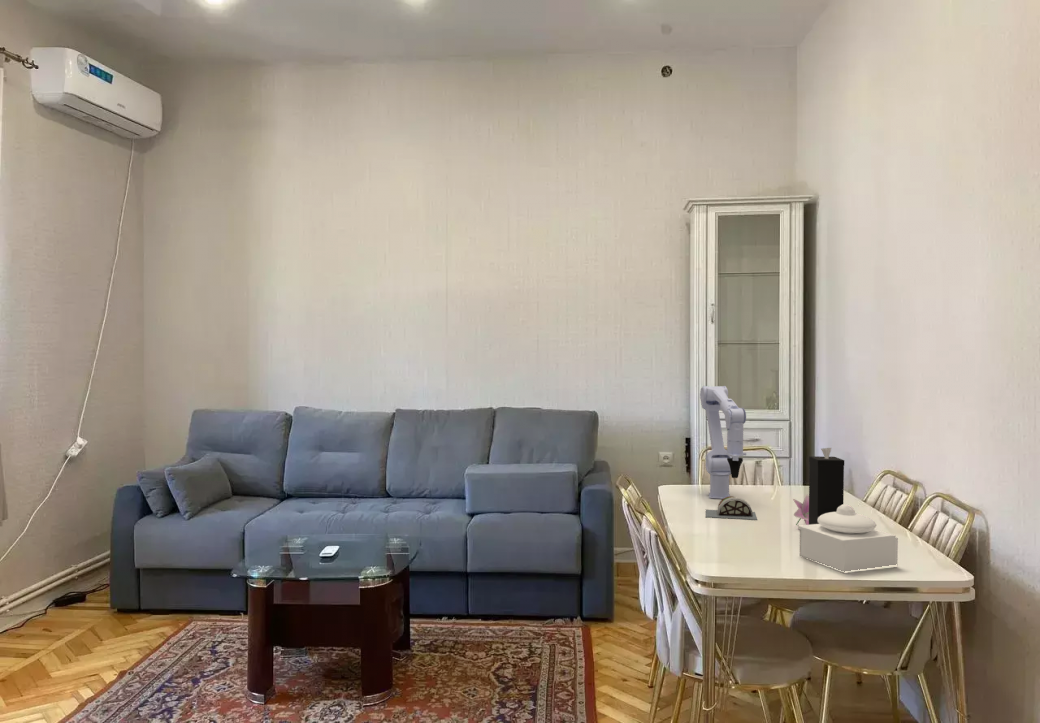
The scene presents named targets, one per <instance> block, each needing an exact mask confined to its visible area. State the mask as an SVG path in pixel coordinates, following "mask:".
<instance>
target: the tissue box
mask: <svg viewBox="0 0 1040 723" xmlns="http://www.w3.org/2000/svg"><path fill="white" fill-rule="evenodd" d="M820 450H821V453H822V455H823V456H814V455H813V456H809V457H808V458H809V459H808V461H809V463H808V464H809V466H808V468H809V469H808V470H809V474H808V477H809V478H808V479H809V482H808V496H809V525H811V524H819V523H818V521H817V519H818V517H819V516H821V515H823V514H825V513H829V512H836V511H837V508H838V507H839V506H841V505H843V504H844V496H845V494H844V493H845V492H844V491H845V490H844V488H845V484H844V483H845V478H844V477H845V460H844V459H842V458H839V457H837V456H830V455H831V452H832V447H825V448H824V447H823V448H820Z"/></svg>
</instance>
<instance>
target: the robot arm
mask: <svg viewBox="0 0 1040 723" xmlns="http://www.w3.org/2000/svg"><path fill="white" fill-rule="evenodd" d="M699 398H700V405H701V408H702V409H703V410H704V411H705V413H706V414H705V415H706V419H707V426H708V431H709V433H708V434H709V441H710V447H711V450H710V451H709V452H707V454H706V455H705V470H706V472H707V474H709V492H708V498H709V499H718V500H722V499H724V498H726V497H729V496H731V493H730V476H731V478H732V479H738V478H739V475H740V469H741V465H742V463H743V462H744V459H743V457H742V456H747V453H746V452H744V424H746V421H747V412H746V410H745V408H744V407H739V406H738V405H737V403H736V402H735V401H734V400H733V399H732V398H729V390H728V387H727V386H726V385H722V386H721V385H717V386H716V385H715V386H713V385H711V386H710V385H708V386H707V385H703V386H701V388H700V393H699ZM720 411H721V412H722V413H723V415H724V420H725V428H726V429H727V431H726V432H727V433H726V448H725V445H724V437H723V431H722V424H721V419H720Z"/></svg>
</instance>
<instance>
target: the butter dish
mask: <svg viewBox="0 0 1040 723" xmlns="http://www.w3.org/2000/svg"><path fill="white" fill-rule="evenodd" d="M817 521H818V523H819V524H811V525H806V524H803V525H801V524H800V525H797V529H798V530H799V557H800V556H802V557H805V558H808V559H811V560H813V561H817V562H819V563H822V564H825V565H827V566H831V567H833V568H836V569H838V570H841V571H844V572H845V571H851V570H858V569H859V570H860V569H867V568H875V567H882V566H889V565H896V564H897V565H898V559H899V558H898V552H899V551H898V549H899V545H898V544H899V541H898V540H899V538H898V537H896V534H892V533H888V532H885V531H883V530H878V529H876V527H877V522H876V521H875V520H874V519H873V518H871V517H870V516H867V515H864V514H861V513H858V512H857V513H856V510H855V509H854V507H852V506H851V505H849V504H847V503H843V505H841V506H839V507H838V508H837V511H836V512H829V513H825V514H823V515H821V516H819V517H818V519H817ZM802 557H801V558H802ZM805 558H804V559H805ZM808 559H807V560H808ZM813 561H812V562H813Z"/></svg>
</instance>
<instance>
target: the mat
mask: <svg viewBox="0 0 1040 723" xmlns="http://www.w3.org/2000/svg"><path fill="white" fill-rule="evenodd" d="M705 510H706V511H705V518H707V517H712V519H726V518H728V520H745V521H746V520H748V521H758V517H757V514H756V512H755V511H752V512H753V516H740V515H717V509H705Z"/></svg>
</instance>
